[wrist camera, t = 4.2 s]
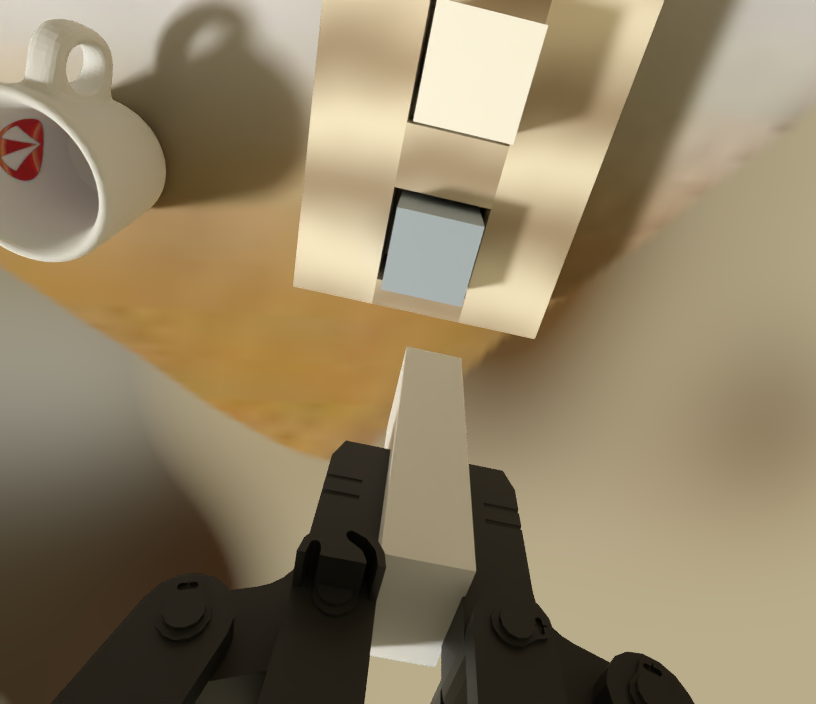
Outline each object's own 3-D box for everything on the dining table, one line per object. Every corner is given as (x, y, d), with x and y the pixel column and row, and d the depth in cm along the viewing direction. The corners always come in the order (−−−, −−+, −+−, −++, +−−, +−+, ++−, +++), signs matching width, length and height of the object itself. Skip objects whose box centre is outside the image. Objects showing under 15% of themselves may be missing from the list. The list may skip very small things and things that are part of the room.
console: (379, -291, 20) (362, -391, 16) (701, -201, 21) (768, -273, 17) (313, 257, 32) (293, 286, 28) (522, 304, 33) (534, 339, 28)
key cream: (438, 12, 22) (437, -3, 18) (528, 34, 23) (548, 25, 18) (417, 113, 24) (413, 121, 20) (500, 133, 25) (513, 144, 20)
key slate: (403, 186, 27) (397, 207, 23) (478, 204, 27) (484, 227, 23) (389, 258, 29) (380, 289, 25) (458, 274, 30) (461, 307, 25)
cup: (54, -2, 26) (-87, -31, 19) (203, 61, 27) (121, 56, 20) (49, 194, 31) (-64, 228, 24) (175, 241, 32) (101, 287, 25)
